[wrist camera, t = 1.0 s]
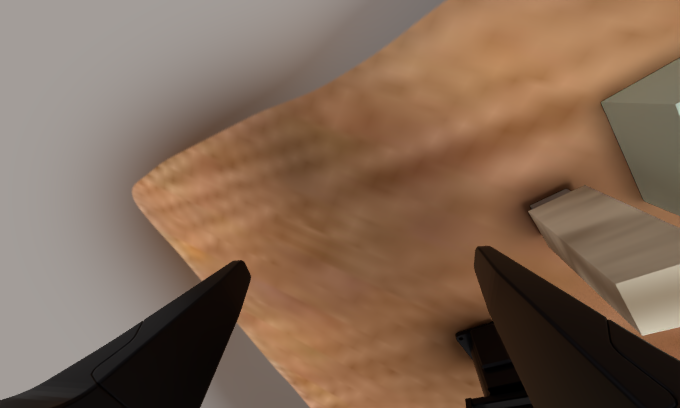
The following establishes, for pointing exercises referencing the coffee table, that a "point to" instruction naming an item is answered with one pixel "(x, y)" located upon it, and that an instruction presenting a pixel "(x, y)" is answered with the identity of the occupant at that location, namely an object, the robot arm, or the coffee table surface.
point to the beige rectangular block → (616, 254)
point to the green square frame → (651, 134)
